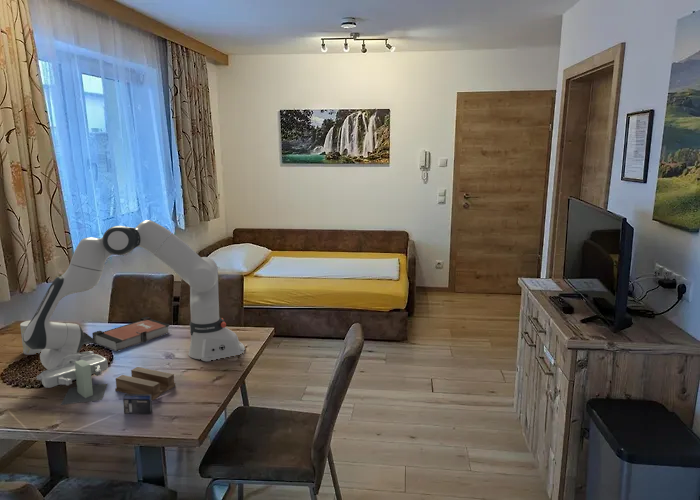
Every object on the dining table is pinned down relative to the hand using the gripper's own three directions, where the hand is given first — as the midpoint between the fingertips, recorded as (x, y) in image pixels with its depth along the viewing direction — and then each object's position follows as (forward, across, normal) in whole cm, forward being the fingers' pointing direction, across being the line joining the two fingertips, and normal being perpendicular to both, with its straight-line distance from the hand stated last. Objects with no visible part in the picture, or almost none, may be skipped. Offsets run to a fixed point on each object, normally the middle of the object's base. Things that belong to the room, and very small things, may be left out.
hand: (84, 377), depth 162 cm
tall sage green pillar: (-1, 0, +6) cm, 6 cm away
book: (-39, +36, +7) cm, 54 cm away
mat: (-1, 0, +6) cm, 6 cm away
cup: (-55, +3, +7) cm, 55 cm away
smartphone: (-54, +20, +7) cm, 58 cm away
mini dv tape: (+24, +6, +7) cm, 25 cm away
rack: (+10, +15, +6) cm, 20 cm away
